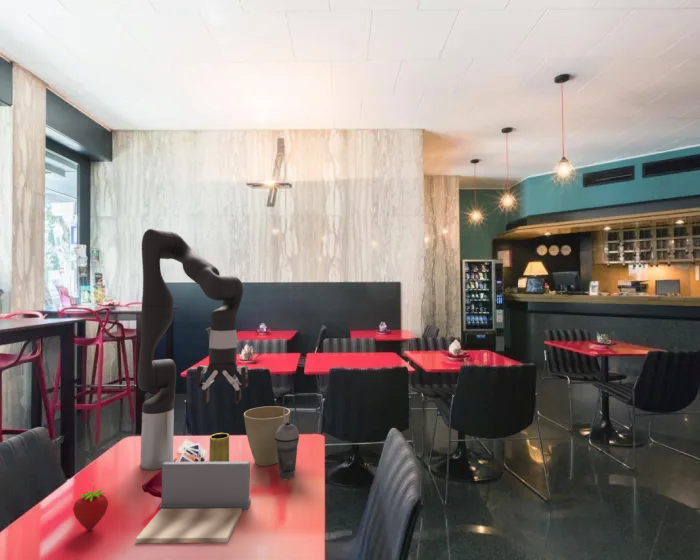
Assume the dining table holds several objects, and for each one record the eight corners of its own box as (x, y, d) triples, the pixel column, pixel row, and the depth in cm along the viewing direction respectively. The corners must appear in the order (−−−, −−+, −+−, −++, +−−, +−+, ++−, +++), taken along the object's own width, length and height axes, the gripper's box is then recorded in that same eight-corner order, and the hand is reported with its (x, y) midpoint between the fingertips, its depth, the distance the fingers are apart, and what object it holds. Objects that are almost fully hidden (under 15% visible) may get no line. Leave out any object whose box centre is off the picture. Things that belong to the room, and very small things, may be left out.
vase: (234, 484, 113) (235, 434, 114) (219, 494, 108) (220, 441, 108) (218, 480, 116) (219, 431, 117) (202, 489, 110) (203, 437, 111)
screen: (159, 510, 100) (160, 466, 100) (166, 502, 104) (167, 459, 104) (246, 510, 100) (247, 465, 100) (250, 502, 104) (250, 459, 104)
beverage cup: (294, 482, 114) (294, 413, 115) (270, 480, 116) (271, 411, 117) (302, 472, 122) (302, 406, 122) (279, 469, 123) (280, 404, 124)
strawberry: (86, 521, 95) (87, 478, 95) (114, 523, 94) (115, 480, 94) (64, 535, 89) (66, 490, 90) (94, 538, 88) (95, 493, 88)
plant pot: (299, 458, 132) (299, 410, 132) (267, 475, 119) (267, 421, 120) (266, 449, 140) (266, 403, 140) (233, 464, 127) (233, 413, 128)
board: (135, 543, 87) (135, 538, 87) (160, 512, 99) (161, 508, 99) (227, 542, 87) (227, 537, 87) (241, 512, 99) (241, 508, 99)
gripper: (193, 347, 110) (191, 405, 109) (244, 348, 109) (242, 407, 109) (203, 343, 117) (201, 398, 117) (251, 344, 117) (249, 399, 117)
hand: (221, 402), depth 113 cm, fingers open, 8 cm apart
